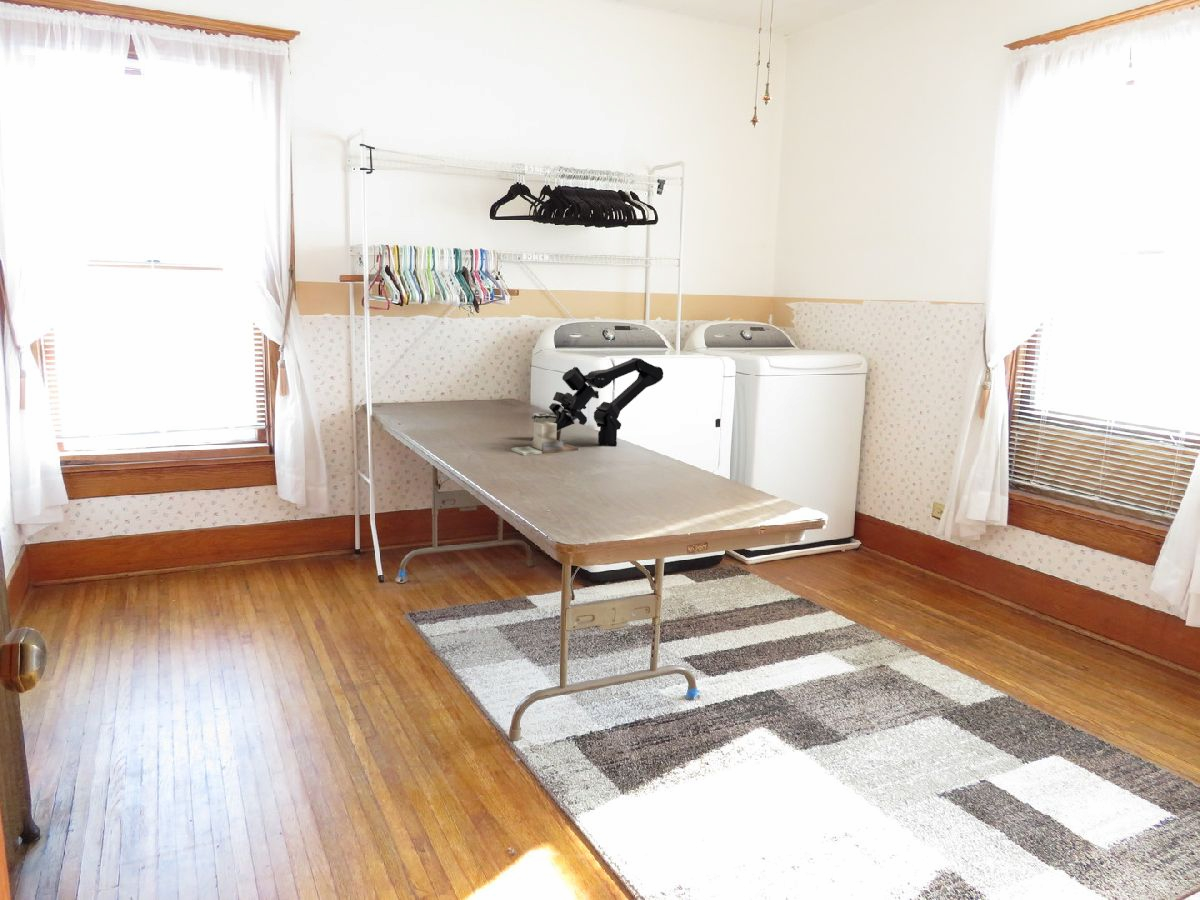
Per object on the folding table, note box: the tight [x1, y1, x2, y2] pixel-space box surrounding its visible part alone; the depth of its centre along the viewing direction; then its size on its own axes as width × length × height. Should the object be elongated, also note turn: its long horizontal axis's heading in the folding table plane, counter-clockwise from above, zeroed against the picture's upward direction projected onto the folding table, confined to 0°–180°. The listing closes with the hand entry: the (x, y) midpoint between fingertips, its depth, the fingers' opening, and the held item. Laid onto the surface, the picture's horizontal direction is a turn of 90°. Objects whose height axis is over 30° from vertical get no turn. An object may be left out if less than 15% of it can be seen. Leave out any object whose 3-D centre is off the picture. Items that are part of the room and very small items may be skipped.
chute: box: [510, 439, 579, 456], centre depth 310 cm, size 22×10×3 cm, turn 123°
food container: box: [531, 411, 562, 442], centre depth 331 cm, size 12×6×10 cm, turn 84°
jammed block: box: [533, 421, 557, 450], centre depth 309 cm, size 6×6×9 cm
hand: (553, 431), depth 311 cm, fingers closed, pressing on jammed block
